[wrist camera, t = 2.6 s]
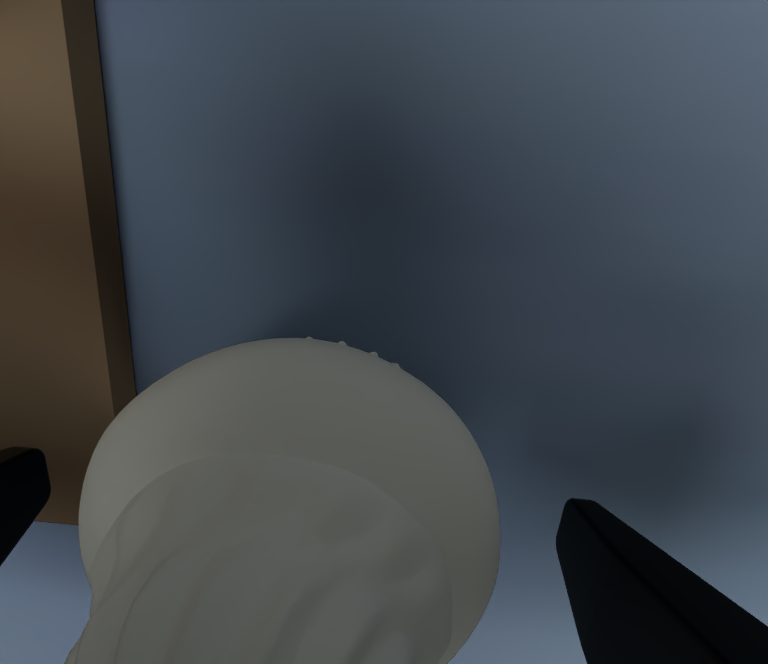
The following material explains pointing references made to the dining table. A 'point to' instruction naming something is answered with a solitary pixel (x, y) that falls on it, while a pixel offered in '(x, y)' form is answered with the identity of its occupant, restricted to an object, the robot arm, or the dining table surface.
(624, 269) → the dining table surface
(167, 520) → the muffin
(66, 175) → the channel bracket
